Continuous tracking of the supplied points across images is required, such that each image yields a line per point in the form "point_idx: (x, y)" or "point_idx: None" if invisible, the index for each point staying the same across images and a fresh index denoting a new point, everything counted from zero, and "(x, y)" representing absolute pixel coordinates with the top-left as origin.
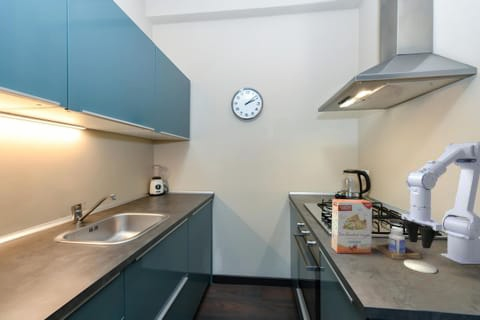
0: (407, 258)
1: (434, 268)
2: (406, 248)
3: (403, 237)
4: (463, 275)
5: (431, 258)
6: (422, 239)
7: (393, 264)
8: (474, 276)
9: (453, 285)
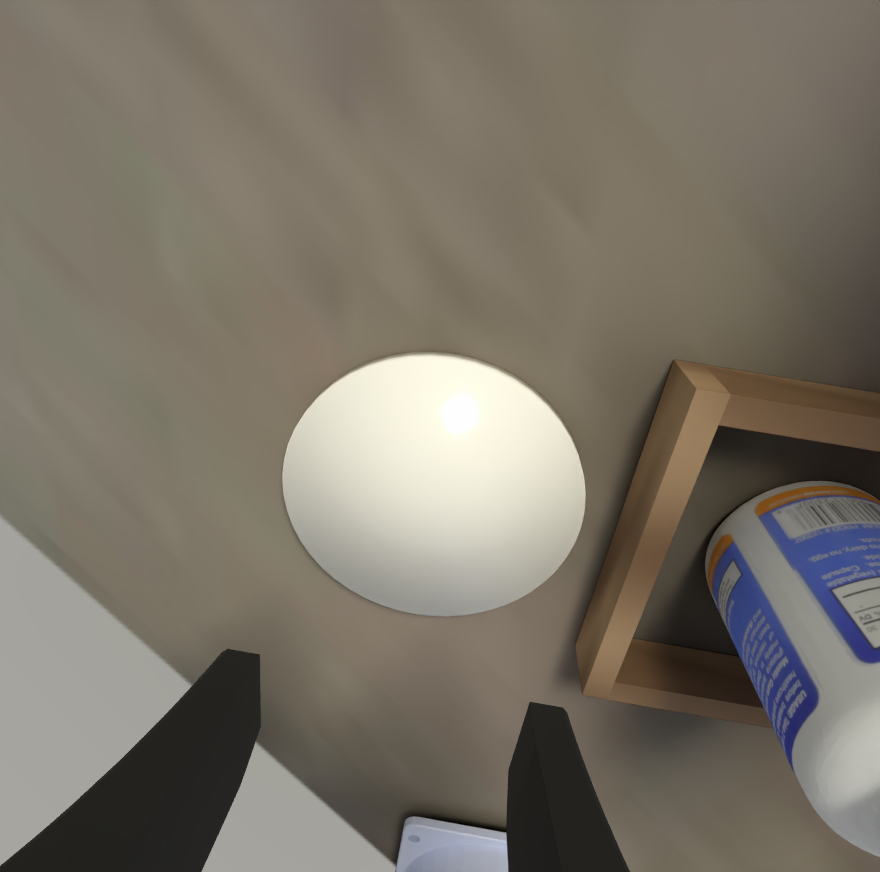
0: (619, 537)
1: (347, 571)
2: None
3: (823, 803)
4: None
5: None
6: (145, 795)
7: (557, 236)
8: None
9: (74, 448)
